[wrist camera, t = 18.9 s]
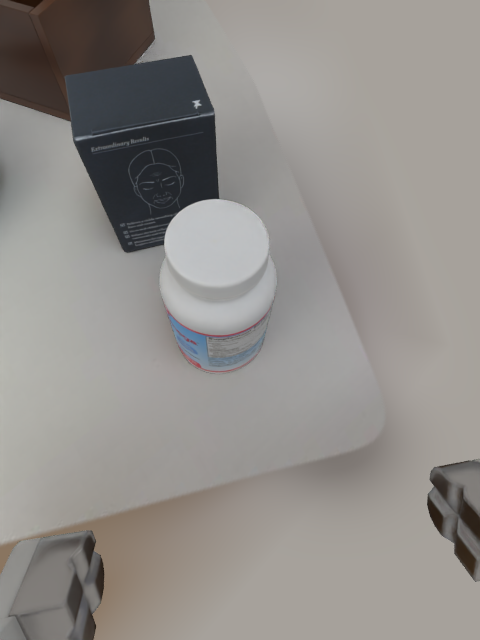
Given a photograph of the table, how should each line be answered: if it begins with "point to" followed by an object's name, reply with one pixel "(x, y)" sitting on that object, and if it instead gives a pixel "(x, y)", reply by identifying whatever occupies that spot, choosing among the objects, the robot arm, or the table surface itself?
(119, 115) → the box
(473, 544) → the robot arm
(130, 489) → the table surface
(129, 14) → the chest
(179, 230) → the pill bottle
